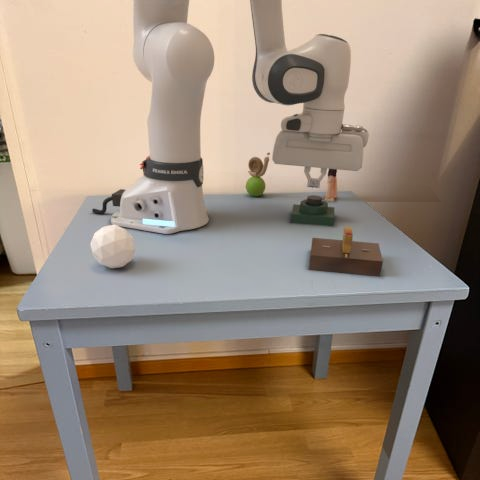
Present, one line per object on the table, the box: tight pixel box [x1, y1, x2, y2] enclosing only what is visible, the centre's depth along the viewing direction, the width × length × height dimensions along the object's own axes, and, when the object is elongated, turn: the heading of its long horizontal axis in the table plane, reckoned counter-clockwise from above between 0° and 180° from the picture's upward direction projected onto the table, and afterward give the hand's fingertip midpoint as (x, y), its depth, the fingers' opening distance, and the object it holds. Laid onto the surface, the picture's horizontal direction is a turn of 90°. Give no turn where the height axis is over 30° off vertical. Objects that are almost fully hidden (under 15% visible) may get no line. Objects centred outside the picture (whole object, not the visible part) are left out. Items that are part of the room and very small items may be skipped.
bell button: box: [306, 194, 323, 206], centre depth 108 cm, size 4×4×2 cm
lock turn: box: [341, 226, 354, 253], centre depth 85 cm, size 5×1×4 cm, turn 170°
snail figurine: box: [245, 151, 271, 197], centre depth 123 cm, size 5×6×12 cm
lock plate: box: [308, 237, 384, 277], centre depth 87 cm, size 13×9×3 cm
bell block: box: [290, 199, 335, 227], centre depth 109 cm, size 10×8×4 cm
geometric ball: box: [89, 224, 136, 270], centre depth 82 cm, size 8×8×8 cm
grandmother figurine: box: [324, 169, 338, 203], centre depth 122 cm, size 8×4×13 cm, turn 179°
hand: (313, 186), depth 106 cm, fingers closed
